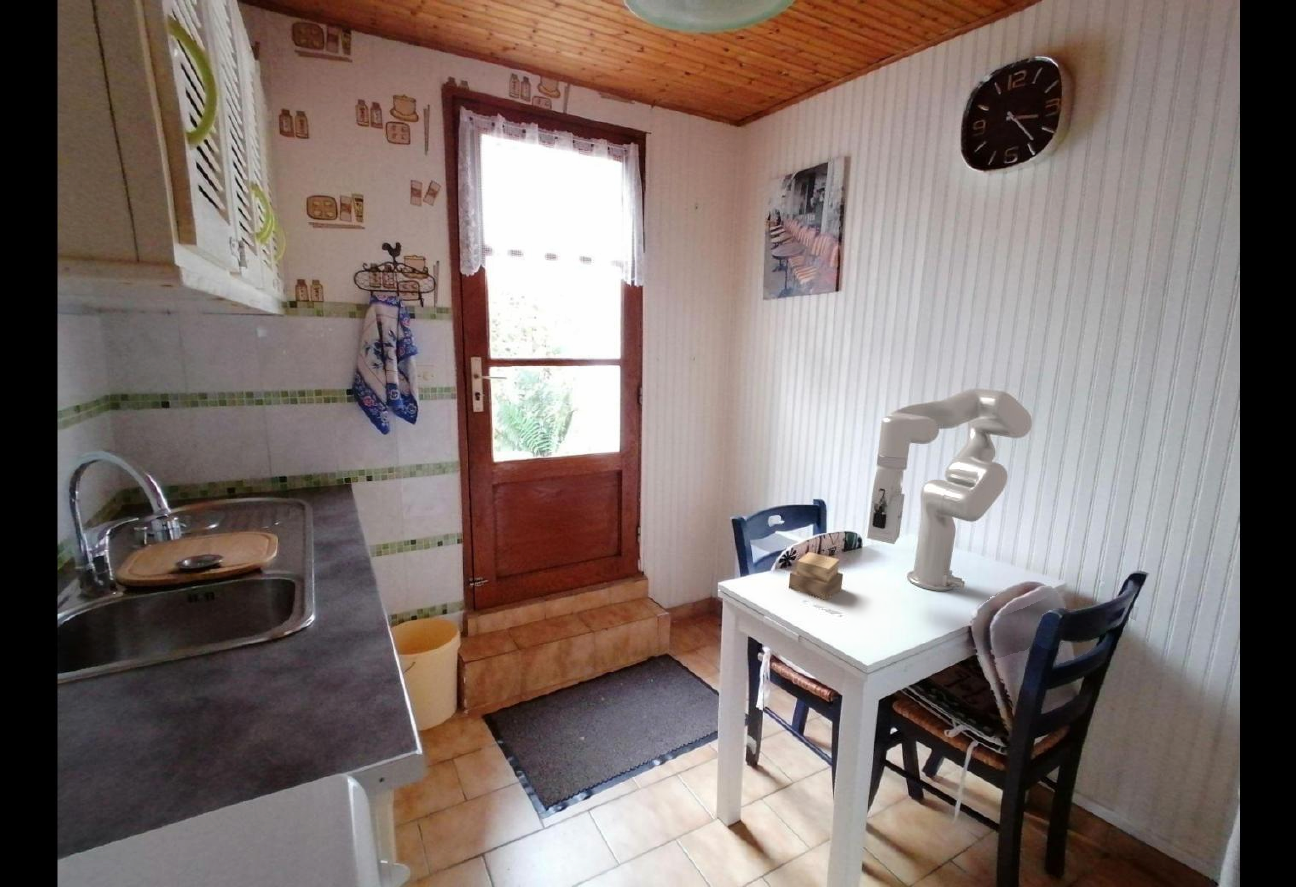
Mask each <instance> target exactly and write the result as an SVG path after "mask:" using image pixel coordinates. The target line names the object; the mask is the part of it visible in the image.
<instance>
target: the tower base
mask: <svg viewBox="0 0 1296 887" xmlns="http://www.w3.org/2000/svg"><path fill="white" fill-rule="evenodd" d="M796 573H797V568H796V569H794V570H792V571H791V572H789V579H788V580H789V581H788V589H790V588H791V589H790V590H793V591H796V592H799V591H800V592H799V593H801V592H803V593H802V594H804V593H805V595H807V594H808V595H807V596H811V597H813V596H814V598H816V597H817V598H816V599H818V598H820V599H819V600H821V599H822V600H821V601H825V602H826V601H827V600H828V599H830V598H831V597H832V596H834V595H835V594H836V592H837V591H838V592H839V591H841V590H842V586H843V579H844V577H843V576H844V573H842V572H839V571H838V573H837V574H836V575H835V576H834V577H833V578H832V579H831V580H830V581H829V582H828V583H827V582H824V581H820V580H816V579H813V578H809V577H806V576H802V575H799V574H796ZM840 589H841V590H840ZM838 592H837V593H838ZM833 594H834V595H833ZM830 596H831V597H830ZM829 597H830V598H829Z"/></svg>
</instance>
